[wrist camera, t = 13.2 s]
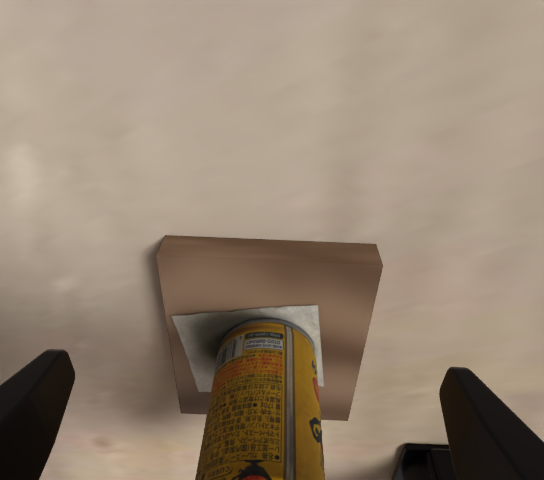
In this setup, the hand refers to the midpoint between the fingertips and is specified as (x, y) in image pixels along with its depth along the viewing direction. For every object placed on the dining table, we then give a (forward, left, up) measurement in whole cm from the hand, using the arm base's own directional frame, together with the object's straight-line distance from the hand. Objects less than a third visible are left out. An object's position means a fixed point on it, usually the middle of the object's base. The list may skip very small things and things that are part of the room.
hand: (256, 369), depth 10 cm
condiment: (-12, +1, -11) cm, 16 cm away
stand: (-12, 0, -13) cm, 18 cm away
